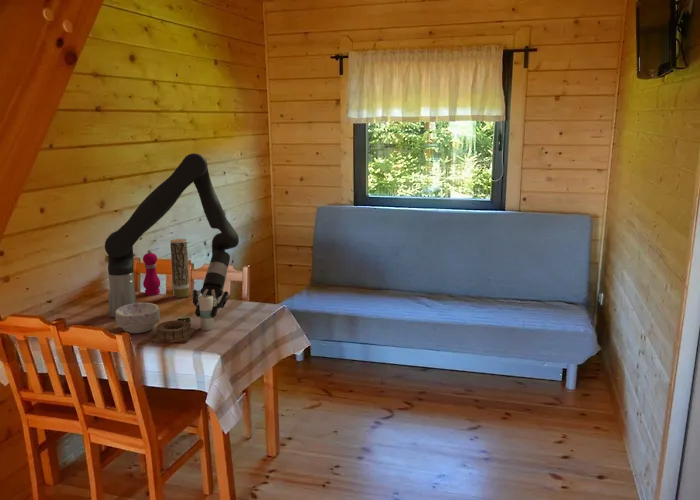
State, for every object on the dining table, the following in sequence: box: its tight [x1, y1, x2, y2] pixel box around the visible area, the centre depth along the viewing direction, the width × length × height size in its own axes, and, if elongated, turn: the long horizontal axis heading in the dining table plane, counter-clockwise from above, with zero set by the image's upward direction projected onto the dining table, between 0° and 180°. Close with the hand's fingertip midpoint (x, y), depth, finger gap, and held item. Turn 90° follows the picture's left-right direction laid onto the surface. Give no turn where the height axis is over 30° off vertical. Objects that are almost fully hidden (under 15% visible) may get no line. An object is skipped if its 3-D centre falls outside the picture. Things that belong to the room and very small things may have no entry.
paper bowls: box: [115, 302, 161, 334], centre depth 213 cm, size 15×15×8 cm
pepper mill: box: [142, 249, 161, 296], centre depth 255 cm, size 7×7×20 cm
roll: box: [198, 295, 215, 331], centre depth 214 cm, size 5×5×12 cm
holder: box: [151, 319, 196, 344], centre depth 206 cm, size 12×12×4 cm
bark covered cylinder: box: [169, 238, 191, 299], centre depth 251 cm, size 7×7×25 cm
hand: (205, 316), depth 212 cm, fingers closed on roll, 5 cm apart
